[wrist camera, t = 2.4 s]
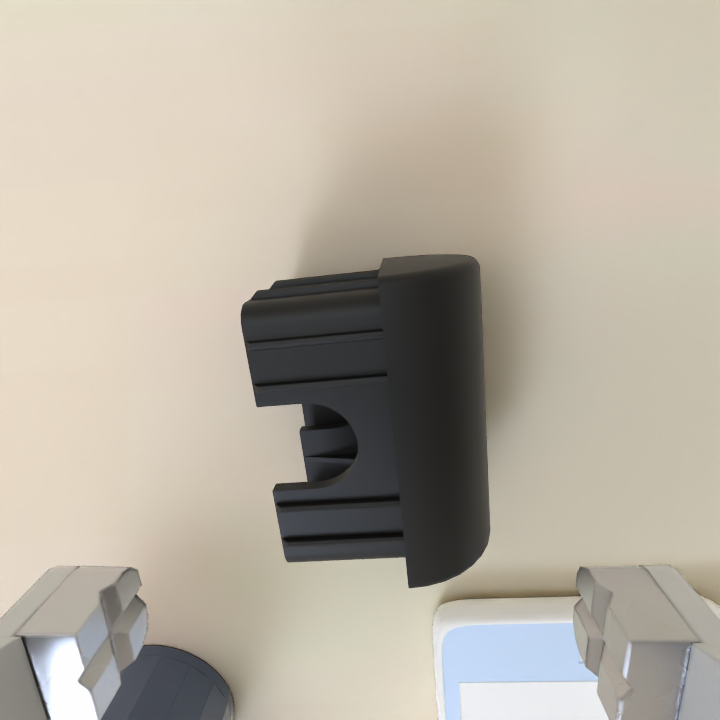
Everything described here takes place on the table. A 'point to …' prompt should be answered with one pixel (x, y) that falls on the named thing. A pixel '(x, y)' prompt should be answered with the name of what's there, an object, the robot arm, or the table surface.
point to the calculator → (513, 661)
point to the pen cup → (170, 689)
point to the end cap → (380, 412)
